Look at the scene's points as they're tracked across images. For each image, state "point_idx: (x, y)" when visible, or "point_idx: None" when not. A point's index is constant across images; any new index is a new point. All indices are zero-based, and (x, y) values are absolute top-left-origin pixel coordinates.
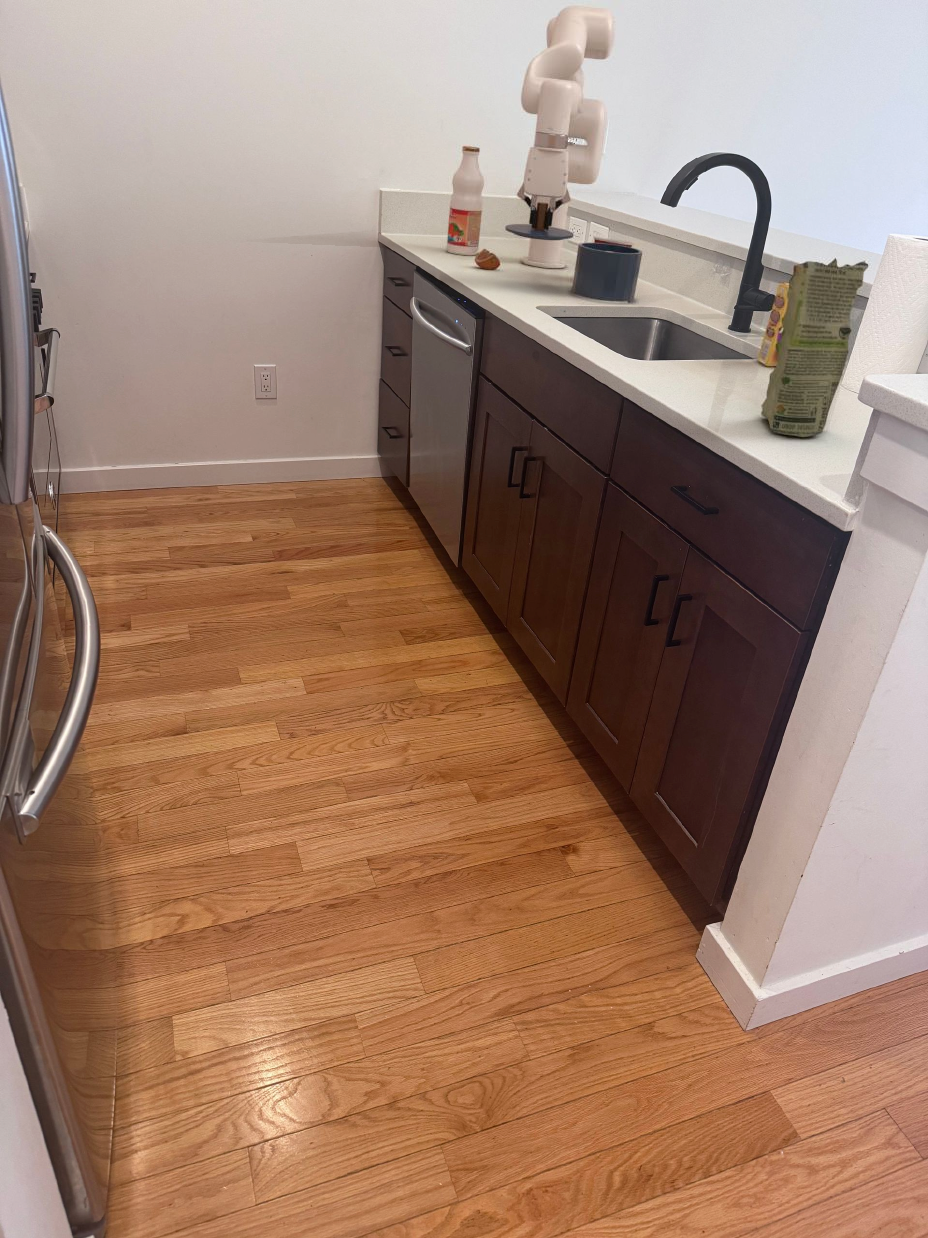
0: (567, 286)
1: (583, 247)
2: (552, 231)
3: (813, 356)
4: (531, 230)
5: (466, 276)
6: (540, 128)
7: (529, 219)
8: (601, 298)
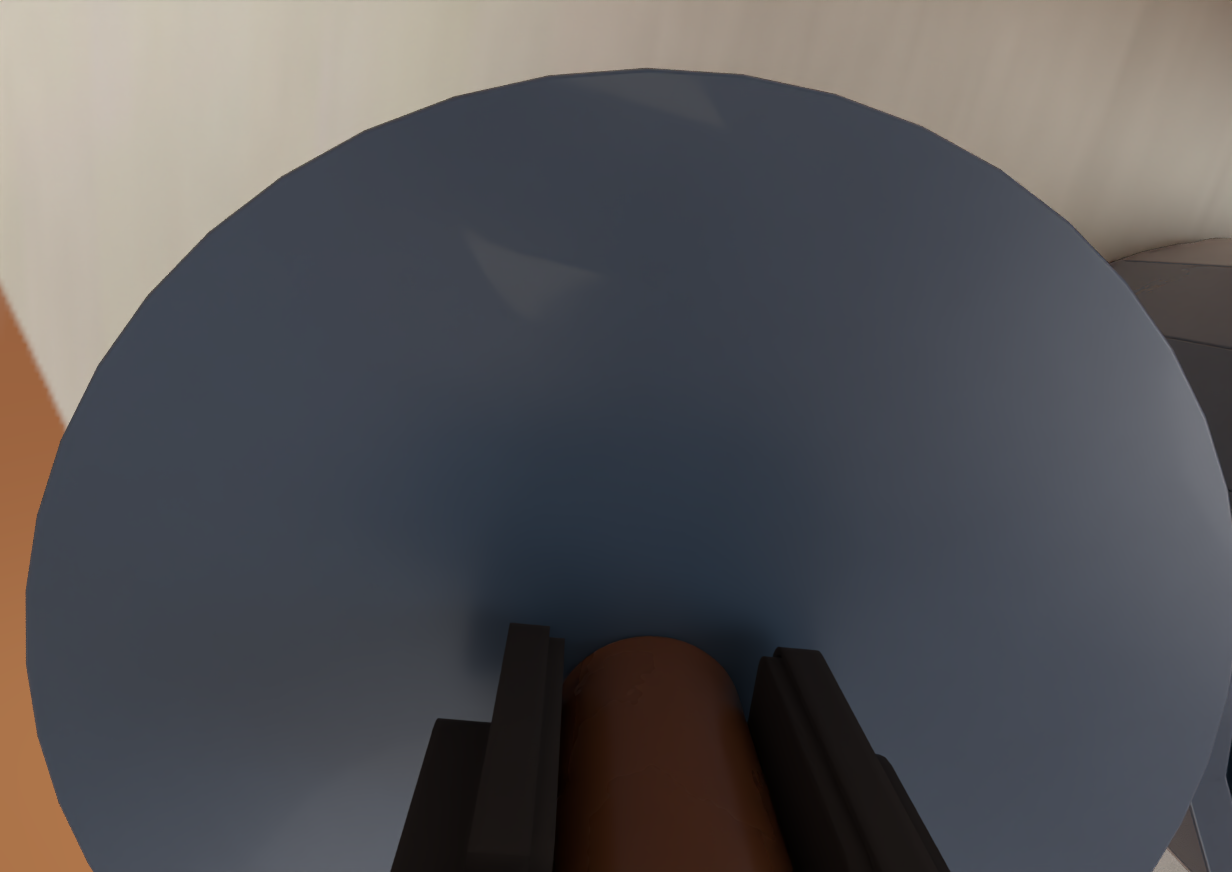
0: (1001, 134)
1: (1187, 816)
2: None
3: None
4: None
5: (33, 8)
6: None
7: (428, 748)
8: None
